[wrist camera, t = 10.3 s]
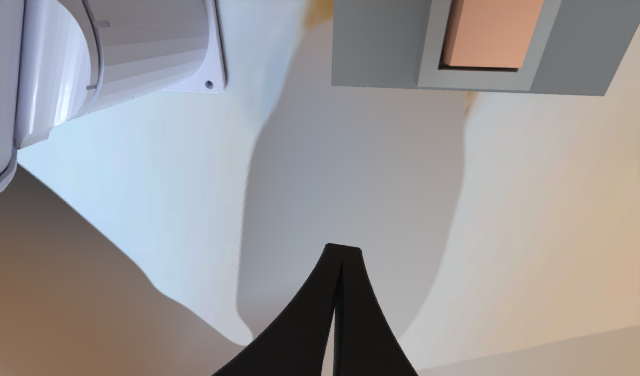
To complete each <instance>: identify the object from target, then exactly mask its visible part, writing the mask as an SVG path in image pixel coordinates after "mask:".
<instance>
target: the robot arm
mask: <svg viewBox="0 0 640 376" xmlns="http://www.w3.org/2000/svg"><path fill="white" fill-rule="evenodd" d="M208 81H211V82H212V84H213V88H211V87H210V86H209V85H208ZM225 89H226V79H225V72H224V65H223V58H222V51H221V44H220V37H219V30H218V23H217V16H216V9H215V2H214V0H0V192H1V191H3V190H4V189H5V188H6V186H7V185H8V184H9V182H10V181H11V180H12V178H13V176H14V173H15V171H16V168H17V150H19V149H22V148H24V147H27V146H30V145H32V144H35V143H38V142H40V141H43V140H46V139H48V136H49V133H50V131H51V130H52V128H53V127H55V126H56V125H58V124H61V123H64V122H67V121H70V120H72V119H75V118H78V117H81V116H84V115H87V114H90V113H93V112H95V111H98V110H101V109H104V108H107V107H110V106H113V105H116V104H119V103H122V102H125V101H128V100H130V99H133V98H136V97H139V96H142V95H145V94H148V93H151V92H154V91H157V90H161V91H184V92H207V93H221V92H223V91H224V90H225ZM16 149H17V150H16ZM334 309H335V329H334V331H335V332H334V364H333V376H418V375H417V373H416V371H415V370H414V368H413V367H412V365H411V363H410V362H409V360H408V359H407V357H406V356H405V354H404V352H403V351H402V349H401V347H400V345H399V344H398V342H397V340H396V338H395V336H394V335H393V333H392V331H391V329H390V327H389V325H388V323H387V321H386V319H385V317H384V315H383V313H382V310H381V308H380V306H379V304H378V301H377V299H376V297H375V294H374V291H373V289H372V286H371V283H370V281H369V278H368V275H367V271H366V268H365V264H364V260H363V256H362V250H361V249H360V248H358V247H351V246H345V245H339V244H332V243H328V244H326V245H325V248H324V250H323V253H322V255H321V257H320V259H319V261H318V262H317V264H316V266H315V268H314V269H313V271H312V272H311V274H310V275H309V277H308V279H307V280H306V282H305V283H304V284H303V286H302V287H301V288H300V290H299V291H298V292H297V294H296V295H295V296H294V298H293V299H292V300H291V302H290V303H289V304H288V305H287V306H286V308H285V309H284V310H283V311H282V312H281V313H280V314H279V315H278V317H277V318H276V319H275V320H274V321H273V322H272V323H271V324H270V325H269V326H268V327H267V328H266V329H265V330H264V331H263V332H262V333H261V334H260V335H259V336H258V337H257V338H256V339H255V340H254V341H253V342H251V343H250V344H249V345H248V346H247V347H246V348H245V349H244V350H242V352H240V353H239V354H238V355H237V356H236V357H234V359H232V360H231V361H230V362H228V363H227V364H226V365H225V366H223V367H222V368H221V369H219V370H218V371H217V372H216V373H214V374H213V375H212V376H321V372H322V364H323V359H324V355H325V350H326V345H327V341H328V337H329V332H330V328H331V323H332V319H333V314H334Z"/></svg>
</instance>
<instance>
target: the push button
mask: <svg viewBox="0 0 640 376" xmlns="http://www.w3.org/2000/svg"><path fill="white" fill-rule="evenodd" d="M543 2H544V0H452V3H451V8H450V13H449V18H448V23H447V28H446V33H445V38H444V43H443V48H442V53H441V58H440V61H442V62H444V63H446V64H448V65H450V66H476V67H509V68H521V67H522V64H523V61H524V58H525V55H526V52H527V49H528V47H529V44H530V41H531V38H532V35H533V32H534V29H535V26H536V23H537V20H538V17H539V14H540V11H541V8H542V5H543Z"/></svg>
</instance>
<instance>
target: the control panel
mask: <svg viewBox="0 0 640 376" xmlns="http://www.w3.org/2000/svg"><path fill="white" fill-rule="evenodd" d="M451 3H452V0H334V21H333V53H332V86H353V87H379V88H406V89H431V90H458V91H483V92H509V93H535V94H561V95H587V96H604V95H605V93H606V91H607V89H608V87H609V85H610V83H611V81H612V79H613V77H614V75H615V73H616V71H617V69H618V67H619V64H620V62H621V60H622V58H623V56H624V54H625V52H626V50H627V48H628V46H629V44H630V42H631V40H632V38H633V36H634V34H635V32H636V30H637V28H638V26H639V24H640V0H544V2H543V5H542V8H541V11H540V14H539V17H538V20H537V23H536V26H535V29H534V32H533V35H532V38H531V41H530V44H529V47H528V49H527V52H526V55H525V58H524V61H523V64H522V67H521V68H509V67H476V66H450V65H448V64H446V63H444V62H442V61H440V58H441V53H442V48H443V43H444V38H445V33H446V28H447V23H448V18H449V13H450V8H451Z"/></svg>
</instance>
